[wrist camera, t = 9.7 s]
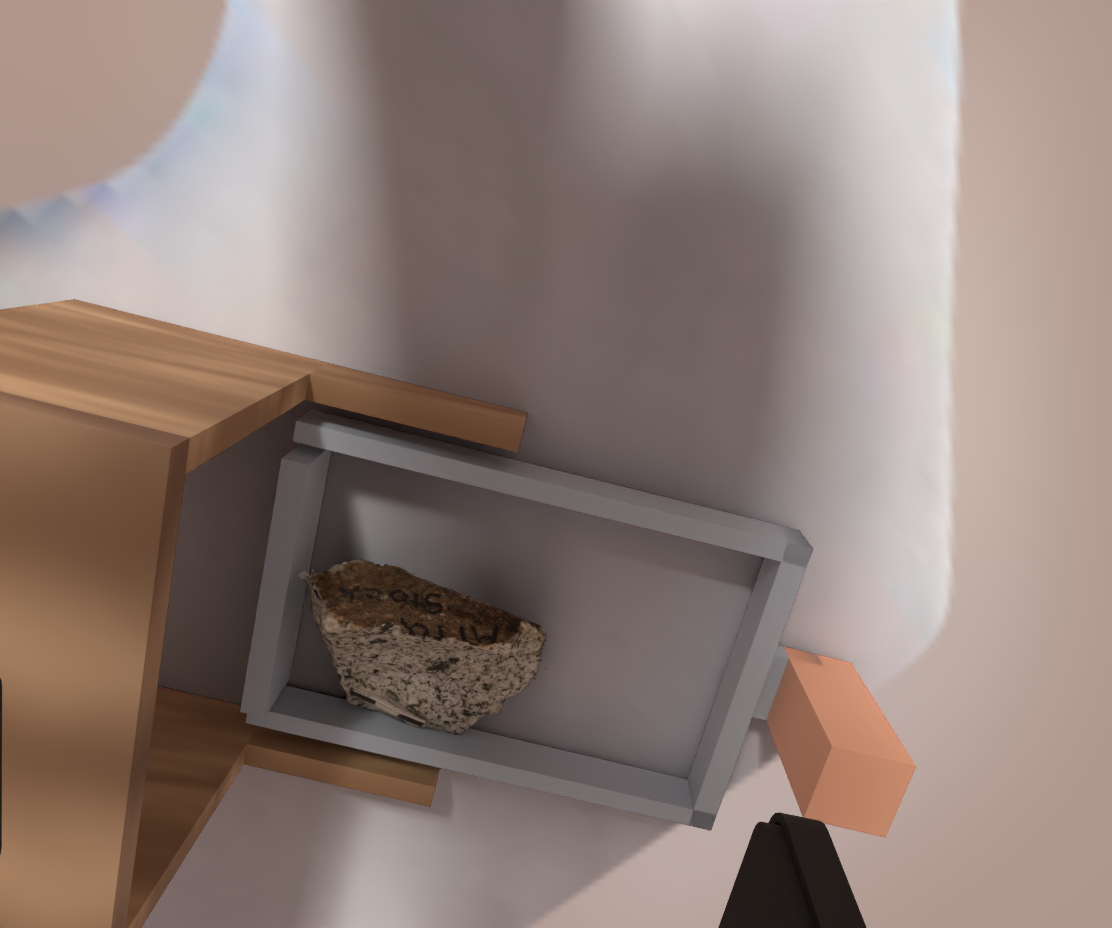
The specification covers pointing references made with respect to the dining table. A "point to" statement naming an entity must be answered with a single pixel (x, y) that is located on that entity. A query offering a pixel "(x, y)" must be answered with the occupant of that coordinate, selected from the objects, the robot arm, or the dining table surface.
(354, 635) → the rock sample
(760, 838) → the robot arm
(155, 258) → the dining table surface
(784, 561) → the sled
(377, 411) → the brown wooden arch frame
